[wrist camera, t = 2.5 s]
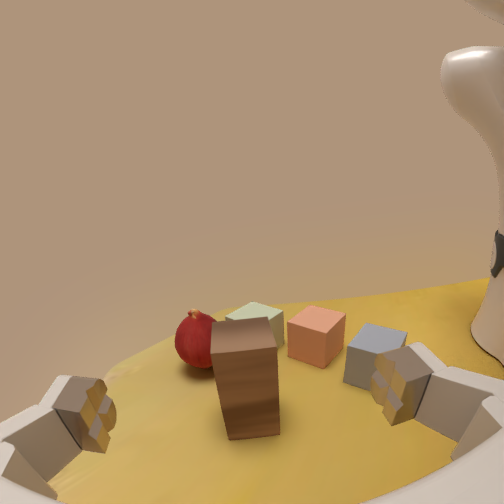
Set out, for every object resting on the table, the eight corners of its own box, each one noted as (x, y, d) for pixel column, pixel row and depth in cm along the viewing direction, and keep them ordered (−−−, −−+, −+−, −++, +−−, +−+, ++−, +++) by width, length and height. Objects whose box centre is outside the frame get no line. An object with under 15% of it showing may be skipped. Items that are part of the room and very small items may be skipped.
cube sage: (284, 344, 36) (283, 310, 34) (259, 363, 32) (256, 328, 31) (255, 333, 39) (252, 301, 38) (229, 349, 36) (225, 316, 34)
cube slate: (399, 368, 27) (407, 332, 26) (385, 396, 24) (394, 358, 22) (361, 358, 31) (365, 322, 29) (343, 382, 27) (347, 345, 26)
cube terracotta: (342, 348, 33) (345, 313, 32) (323, 369, 30) (326, 333, 28) (309, 337, 37) (309, 304, 35) (287, 356, 33) (287, 321, 32)
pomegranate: (193, 351, 35) (182, 295, 33) (235, 355, 34) (228, 297, 32) (174, 378, 30) (158, 318, 28) (221, 385, 29) (210, 323, 26)
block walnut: (279, 434, 21) (276, 346, 19) (228, 440, 21) (210, 353, 18) (272, 401, 26) (267, 316, 23) (227, 406, 25) (212, 322, 23)
